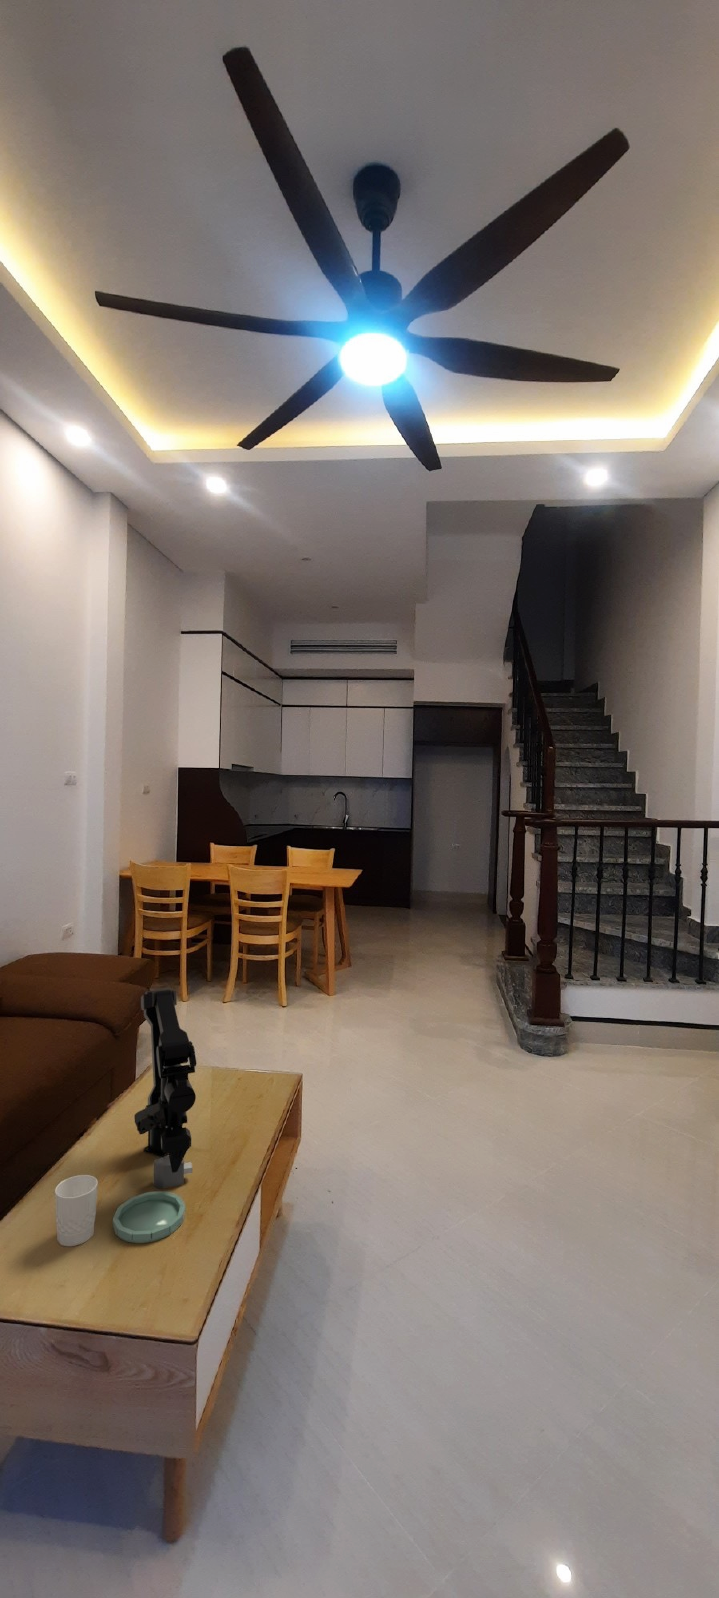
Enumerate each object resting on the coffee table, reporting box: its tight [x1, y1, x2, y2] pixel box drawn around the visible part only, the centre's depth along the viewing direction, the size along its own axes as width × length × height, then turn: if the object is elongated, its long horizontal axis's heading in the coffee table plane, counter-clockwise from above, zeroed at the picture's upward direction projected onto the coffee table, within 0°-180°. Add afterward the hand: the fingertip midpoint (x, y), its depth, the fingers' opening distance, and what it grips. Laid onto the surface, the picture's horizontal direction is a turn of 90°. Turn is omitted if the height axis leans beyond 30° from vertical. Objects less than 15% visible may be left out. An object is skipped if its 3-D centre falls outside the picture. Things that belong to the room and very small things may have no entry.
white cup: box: [54, 1174, 99, 1247], centre depth 131 cm, size 8×8×10 cm
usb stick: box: [152, 1155, 193, 1190], centre depth 150 cm, size 8×4×5 cm, turn 111°
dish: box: [112, 1190, 186, 1244], centre depth 136 cm, size 14×14×2 cm
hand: (172, 1161), depth 150 cm, fingers open, 9 cm apart
